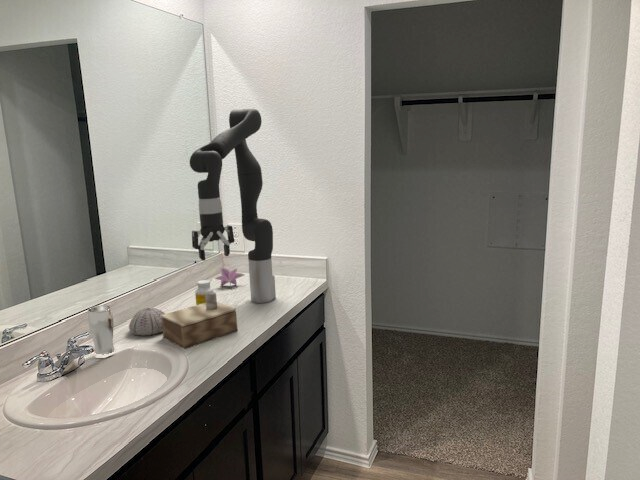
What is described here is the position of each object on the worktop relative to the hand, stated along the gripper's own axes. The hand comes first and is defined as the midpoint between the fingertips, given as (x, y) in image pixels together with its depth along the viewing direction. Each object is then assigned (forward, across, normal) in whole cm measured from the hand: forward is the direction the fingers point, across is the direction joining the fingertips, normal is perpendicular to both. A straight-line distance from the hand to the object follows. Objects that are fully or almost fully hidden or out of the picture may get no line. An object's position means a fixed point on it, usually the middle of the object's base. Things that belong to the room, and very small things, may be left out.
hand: (215, 257), depth 175 cm
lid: (+17, +9, +4) cm, 20 cm away
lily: (+25, -22, -42) cm, 54 cm away
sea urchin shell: (+24, +22, -11) cm, 35 cm away
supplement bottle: (+25, 0, -14) cm, 28 cm away
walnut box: (+24, +9, +4) cm, 26 cm away
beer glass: (+24, +39, +1) cm, 46 cm away
